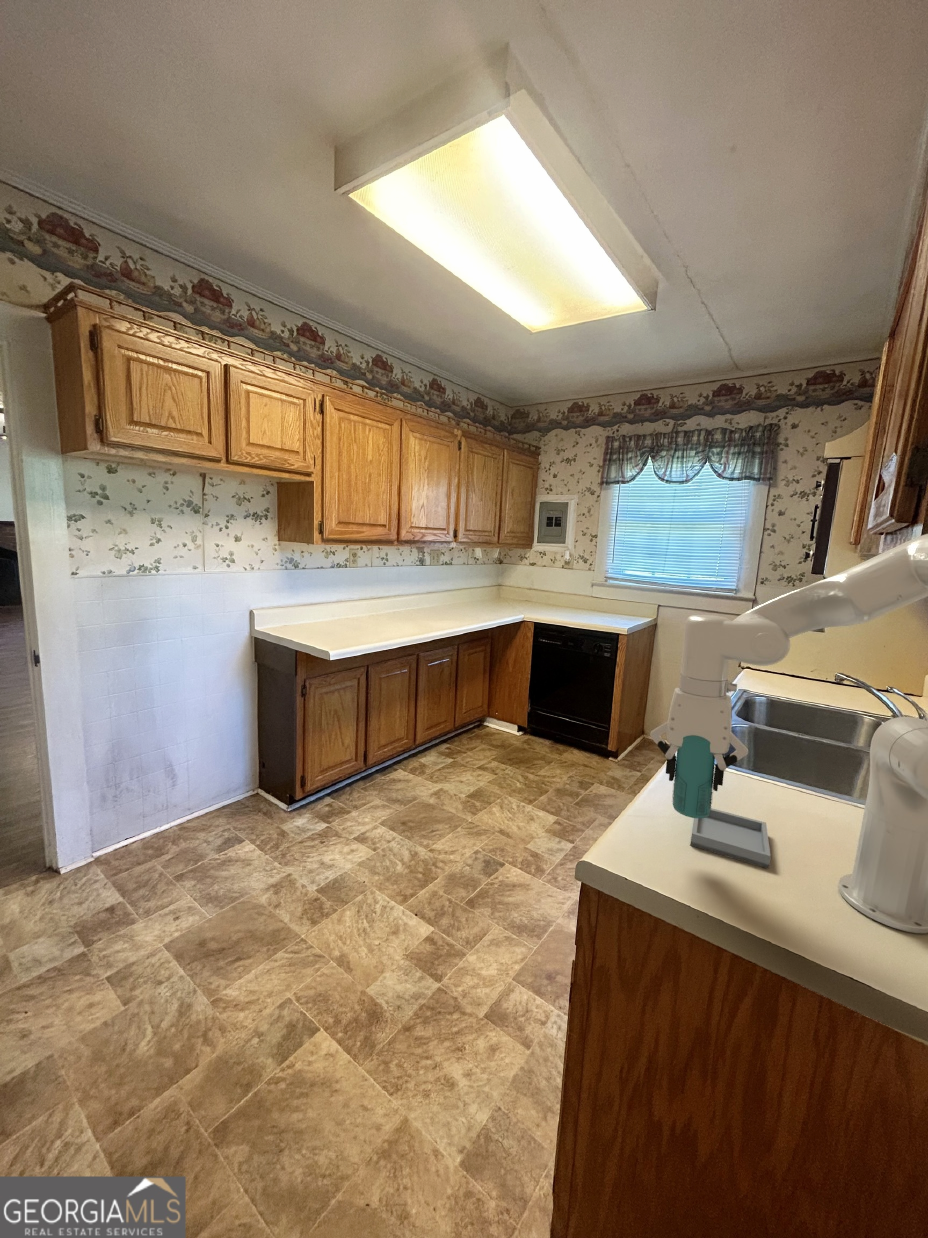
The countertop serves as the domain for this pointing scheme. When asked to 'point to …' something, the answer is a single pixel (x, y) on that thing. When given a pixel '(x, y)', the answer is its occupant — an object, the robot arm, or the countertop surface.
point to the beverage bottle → (694, 777)
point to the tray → (732, 837)
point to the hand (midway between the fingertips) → (693, 782)
